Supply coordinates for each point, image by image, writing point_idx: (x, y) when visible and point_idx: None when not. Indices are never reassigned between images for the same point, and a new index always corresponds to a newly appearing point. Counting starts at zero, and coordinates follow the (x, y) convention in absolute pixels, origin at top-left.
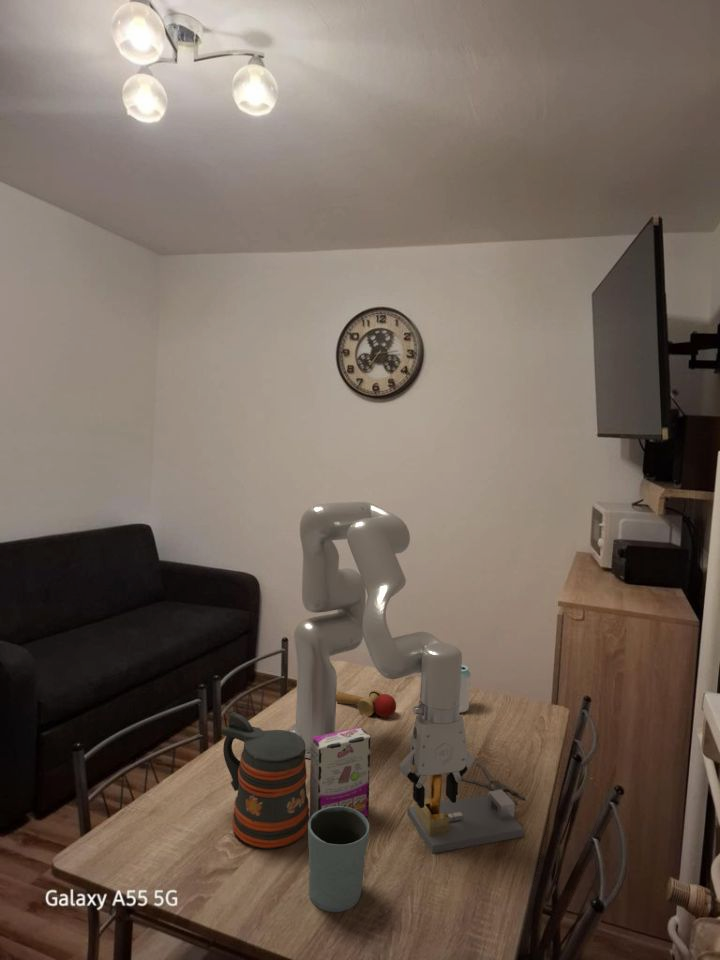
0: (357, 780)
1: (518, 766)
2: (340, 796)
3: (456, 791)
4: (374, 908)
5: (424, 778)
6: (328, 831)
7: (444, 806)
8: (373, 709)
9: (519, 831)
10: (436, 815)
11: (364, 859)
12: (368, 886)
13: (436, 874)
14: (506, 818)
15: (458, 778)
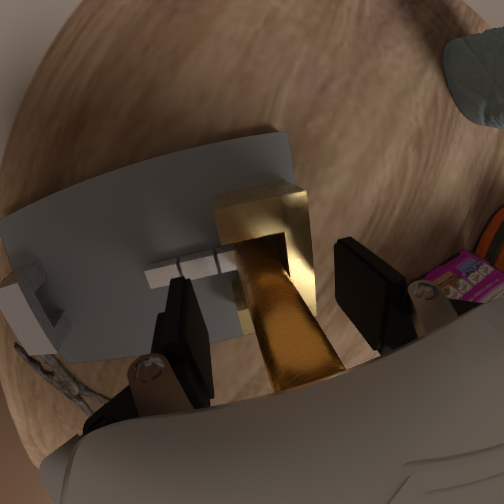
0: None
1: (46, 418)
2: (479, 293)
3: (165, 310)
4: (423, 20)
5: (427, 322)
6: None
7: None
8: None
9: (6, 216)
10: (268, 224)
11: (497, 43)
12: (432, 69)
13: (288, 49)
14: (26, 265)
15: (146, 375)
